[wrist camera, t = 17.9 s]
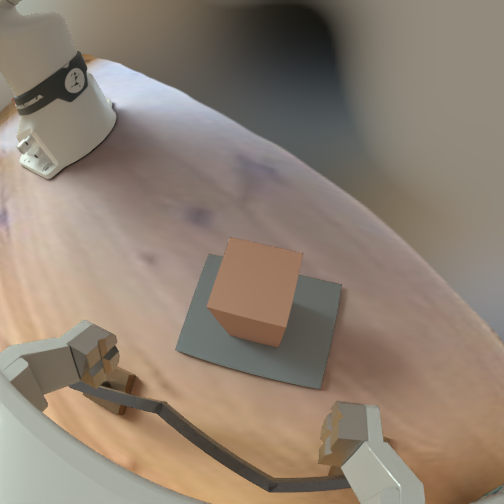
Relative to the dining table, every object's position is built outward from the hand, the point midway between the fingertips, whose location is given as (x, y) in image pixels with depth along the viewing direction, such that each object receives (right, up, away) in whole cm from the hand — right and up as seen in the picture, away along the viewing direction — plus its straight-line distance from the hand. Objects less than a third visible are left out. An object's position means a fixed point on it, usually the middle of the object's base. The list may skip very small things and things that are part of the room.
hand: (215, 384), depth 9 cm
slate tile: (+2, -1, +14) cm, 14 cm away
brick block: (+2, -1, +13) cm, 14 cm away
